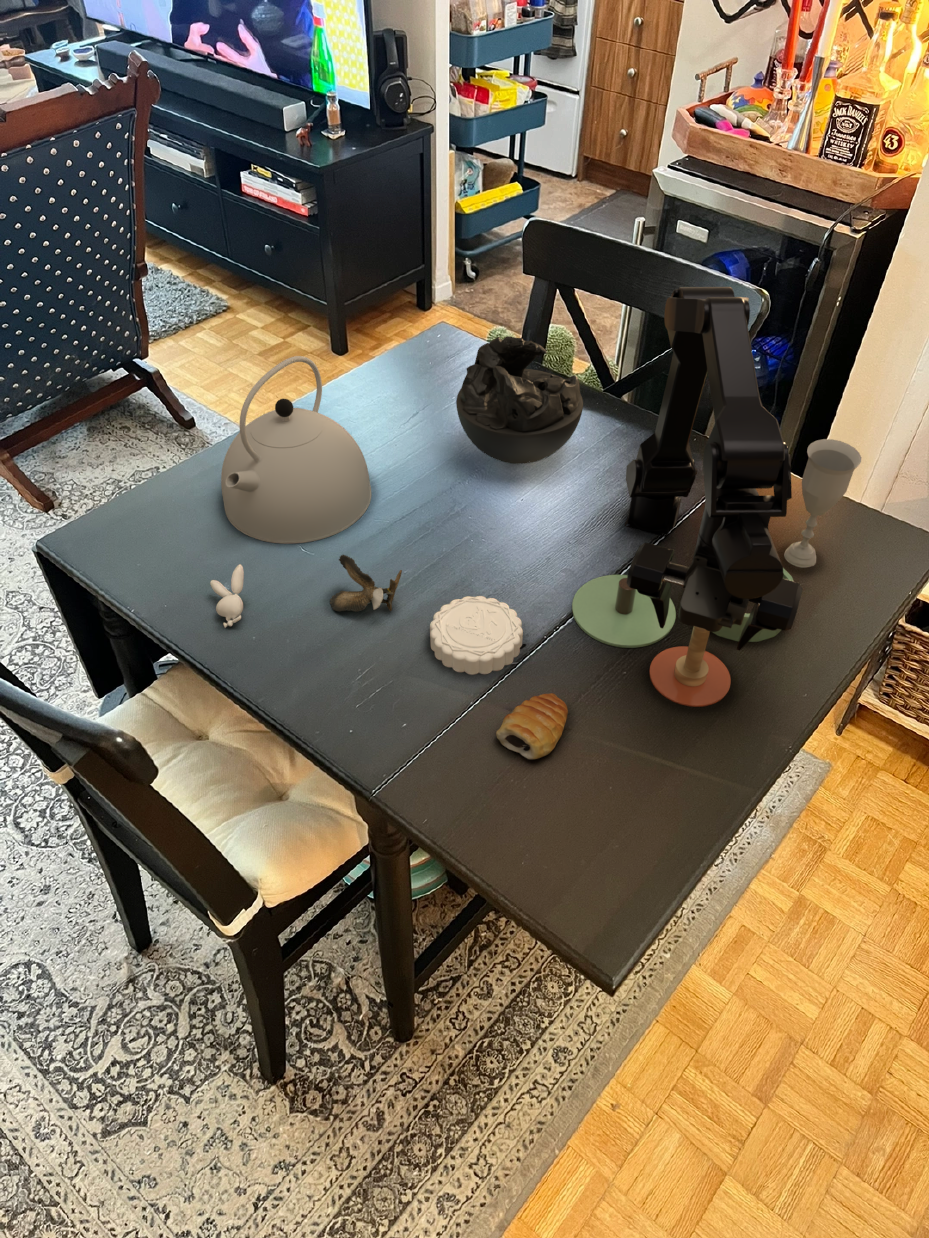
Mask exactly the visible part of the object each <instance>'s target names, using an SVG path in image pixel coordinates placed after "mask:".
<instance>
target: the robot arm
mask: <svg viewBox="0 0 929 1238" xmlns="http://www.w3.org/2000/svg"><path fill="white" fill-rule="evenodd" d="M749 301H750V298H749V297H744V296H735V291H734V289H733V287H731V286H679V287H678V288H676V289H674V290H672V293H671V296H668V297H667V299H666V300H665V306H664V316H663V317H664V318H663V319H664V326H665V329H666V330H667V334H668V339H669V344H670V349H671V351H672V352H673V353H672V358H671V361H670V366H669V371H668V375H667V378H666V382H665V388H664V392H663V397H662V400H661V404H660V405H661V406H660V409H659V413H658V417H657V422H656V427H655V431H654V432H653V433H652V434H651V435H650V436H649V437H647V438H645V440H644V441H642V442H641V443H640V444H639V447H638V451H637V454H636V458H635V459H632V461H630V462H629V463H628V464H627V465H626V469H625V482H626V487H627V491H628V495H629V498H630V504H629V509H628V515H627V518H626V520H625V522H624V524H623V525H624V527H625V528H628V529H633V530H636V531H640V532H644V533H648V534H651V535H656V536H660V537H663V538H664V537H667V536H668V534H669V532H670V530H673V529H674V527H675V526H676V523H677V522H678V518H679V513H680V508H681V503H682V498H688V496H689V494H690V493H691V490H692V488H693V486H694V483H695V480H696V476H697V475H698V468H697V467H696V464H695V463H696V462H695V460H694V459H693V455H692V449H691V444H690V442H689V441H690V437H691V435H692V430H693V426H694V423H695V419H696V416H697V412H698V409H699V405H700V402H701V397H702V394H703V390H704V387H705V382H706V379H707V377H708V382H709V383H708V384H709V390H710V397H711V404H712V410H713V417H714V419H713V420H714V424H713V426H712V429H711V431H710V434H709V436H708V438H707V441H706V443H705V446H704V450H703V455H702V472H703V485H704V486H703V487H704V488H703V489H704V500H705V502H704V508H703V513H702V517H701V522H700V526H699V530H698V534H697V538H696V543H695V547H694V552H693V557H692V561H691V563H690V564H689V566H685V565H681V564H677V563H674V562H672V561H673V558H674V553H675V550H674V549H671V548H669V547H664V546H661V545H657V544H653V543H649V542H644V543H642V544H640V545H639V546H638V548H637V551H636V552H635V554H634V557H633V558H632V561H631V563H630V565H629V568H628V572H627V575H628V576H627V585H628V586H629V587H630V588H633V589H637V591H638V593H640V594H642V595H645V596H648V597H650V599H651V601H652V603H653V605H654V608H655V612H656V615H657V619H658V622H659V626H660V628H664V626H665V623H666V619H667V615H668V609H669V601H670V599H671V591H672V584H673V585H677V586H681V587H682V588H683V591H682V595H681V598H680V601H679V607H678V615H677V617H678V621H679V622H680V623H681V624H683V625H686V626H693V627H694V626H696V627H699V628H703V629H706V630H707V631H710V633H713V632H717V631H719V630H720V629H721V628H722V626H724V627H728V628H731V627H732V625H733V624H736V625H742V622H743V618H744V615H745V613H747V608H748V605H749V603H754V605H753V607H752V609H751V611H750V613H749V614H750V615H749V618H748V620H747V622H746V624H745V626H744V628H743V630H742V633H741V636H740V639H739V641H737V645H736V650H737V651H741V650H742V649H743V648H744V647H745V646H746V645H747V644H748V643H749V642H748V641H749V640H750V639H751V638H752V637H753V636H754V635H755V634H757V633H758V632H759V631H761V630H762V629H767V630H771V631H775V630H777V629H780V630H781V631H784V632H785V631H789V630H792V628H793V625H794V622H795V618H796V616H797V613H798V609H799V605H800V601H801V597H802V594H803V587H802V586H801V583H800V582H798V581H795V580H793V581H791V580H787V579H783V576H784V573H783V568H784V566H783V564H782V561H781V559H780V555H779V554H778V550H777V548H776V546H775V543H774V540H773V537H772V535H771V533H770V531H769V524H770V520H771V518H786V517H787V514H788V512H787V511H788V501H789V500H791V499H792V498H793V495H792V493H793V491H792V464H791V463H792V458H791V454H790V453H789V446H788V445H787V443H786V442H784V438H783V435H782V431H781V428H780V424H779V421H778V419H777V418H776V417H775V416H774V415H772V414H771V413H770V412H769V411H768V410H767V409H766V408H765V407H764V406H763V403H762V400H761V395H760V391H759V385H758V379H757V373H756V367H755V361H754V355H753V350H752V343H751V338H750V332H749V323H750V318H751V317H750V316H751V306H750V302H749ZM772 488H773V495H760V494H759V492H758V490H757V489H759V490H761V489H763V490H764V489H767V490H769V489H772Z"/></svg>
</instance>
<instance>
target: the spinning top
mask: <svg viewBox="0 0 929 1238" xmlns="http://www.w3.org/2000/svg"><path fill="white" fill-rule="evenodd" d="M688 647H689V646H687V645H686V646H685V645H682V646H681V645H679V646H673V647H669V648H665V649H664V650H662V651H660V652H659V653H657V654H656V655H655V656H654V658H653V659H652V661H651V663H650V666H649V671H648V672H649V679H650V681H651V684H652V685H653V687H654V689H656V691H657V692H658V693H659V694H661V695H662V696H663V697H664V698H666V699H668V700H669V701H671V702H673V703H675V704H678V705H680V706H681V705H682V706H687V707H692V708H693V707H695V708H700V707H707V706H712V705H714V704H716V703H718V702H720V701H721V700H723V699H724V698H725V697H726V696H727V694H728V693H729V690H730V688H731V683H732V682H731V681H732V679H731V674H730V671H729V669H728V668H727V666H726V665H725V663H723V661H722V660H721V659H720V658H719V657H717V656H716V655H715V654H713V653H711V652H709V651H707V650H705V653H704V657H703V660H704V661H705V662H706V663H707V665H708V668H709V670H708V674H707V678H706V680H705V682H704V683H703V684H701V685H699V686H687V685H684V684H682V683H680V682H679V681H678V680H677V679H676V677H675V675H674V670H675V665H676V662H677V660H678V659H679V658H680V657H682V656H685V655H687V651H688Z"/></svg>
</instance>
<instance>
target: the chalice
mask: <svg viewBox="0 0 929 1238" xmlns="http://www.w3.org/2000/svg"><path fill="white" fill-rule="evenodd" d="M806 453H807V457H808V459H807V462H806V466H805V468H804V471H803V475H802V478H801V493H802V498H803V503H804V506H805V510H806V511H807V512H808V513H809V514H810V516H809V517H808V519H807V520H805V524H806V528H805V529H803V530H802V531H801V535H802V540H800V541H795V542H792V543H791V544H790V545H789V546H788V547H787V548H786V549H785V551H784V554H783V556H784V559H785V561H787V562H788V563H789V564H790V565H793V566H795V567H797V568H810V567H814V566H815V565H816V564H817V555H816V549H815V548H814V546H813V545H811V544H810V540H811V539H812V538H814V537H815V533H814V528H815V527H817V526H818V522H817V519H818V517H819V516H824V515H825V514H827V513H828V512H829V511H830V510H831V509H832V508H834V507H835V506H836V505H837V504H838V503H839V502H840V501H841V499H842V498H843V497H844V496H845V494H847V491H848V488H849V485H850V482H851V480H852V477H853V474H854V471H855V470H856V469H857V468H858V467H859V466H860V465H861V464H862V455H861V453H860V452H859V451H858V450H857V449H856V447H854V446H852V445H850V444H849V443H847V442H844V441H842V440H838V439H831V438H823V439H818V440H815V441H812V442H811V443H810V444H809V445H808V447H807V451H806Z"/></svg>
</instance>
